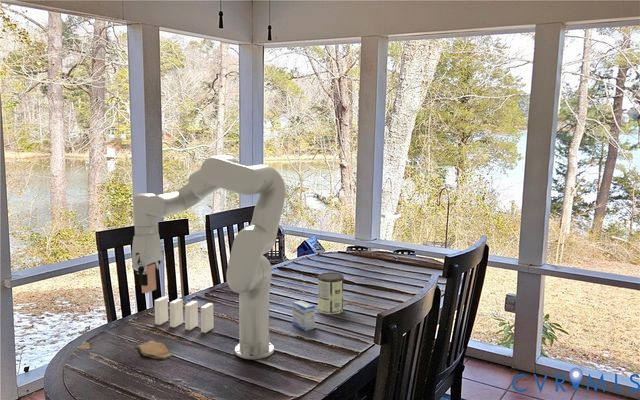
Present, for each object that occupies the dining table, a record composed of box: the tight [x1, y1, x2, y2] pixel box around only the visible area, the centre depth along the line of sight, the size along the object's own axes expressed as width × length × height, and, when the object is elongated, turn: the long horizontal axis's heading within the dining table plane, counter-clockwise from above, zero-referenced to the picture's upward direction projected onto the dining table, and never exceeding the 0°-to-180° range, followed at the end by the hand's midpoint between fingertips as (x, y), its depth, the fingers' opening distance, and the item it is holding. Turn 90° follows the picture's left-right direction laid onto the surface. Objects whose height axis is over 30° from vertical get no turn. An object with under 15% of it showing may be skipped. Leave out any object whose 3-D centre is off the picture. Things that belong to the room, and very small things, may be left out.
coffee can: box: [317, 272, 345, 315], centre depth 203 cm, size 10×10×14 cm
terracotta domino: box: [141, 263, 157, 294], centre depth 174 cm, size 2×5×9 cm, turn 160°
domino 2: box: [184, 300, 199, 331], centre depth 184 cm, size 2×5×9 cm, turn 160°
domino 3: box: [200, 302, 215, 334], centre depth 182 cm, size 2×5×9 cm, turn 160°
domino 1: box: [169, 298, 184, 328], centre depth 186 cm, size 2×5×9 cm, turn 160°
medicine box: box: [291, 300, 316, 332], centre depth 186 cm, size 8×4×9 cm, turn 40°
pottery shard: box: [135, 340, 172, 360], centre depth 164 cm, size 8×3×15 cm
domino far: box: [154, 296, 169, 326], centre depth 188 cm, size 2×5×9 cm, turn 160°
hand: (148, 282), depth 174 cm, fingers closed on terracotta domino, 4 cm apart
